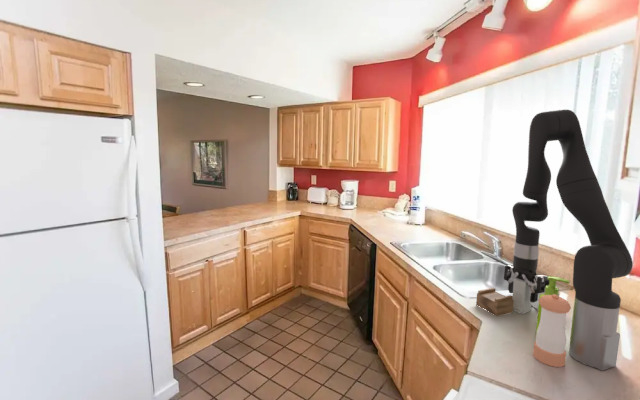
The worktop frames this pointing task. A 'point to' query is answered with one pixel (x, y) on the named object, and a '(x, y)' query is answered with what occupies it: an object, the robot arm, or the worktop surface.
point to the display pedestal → (495, 302)
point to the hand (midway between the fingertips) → (521, 297)
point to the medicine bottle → (536, 304)
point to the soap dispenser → (550, 293)
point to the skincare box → (521, 296)
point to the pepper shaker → (551, 331)
